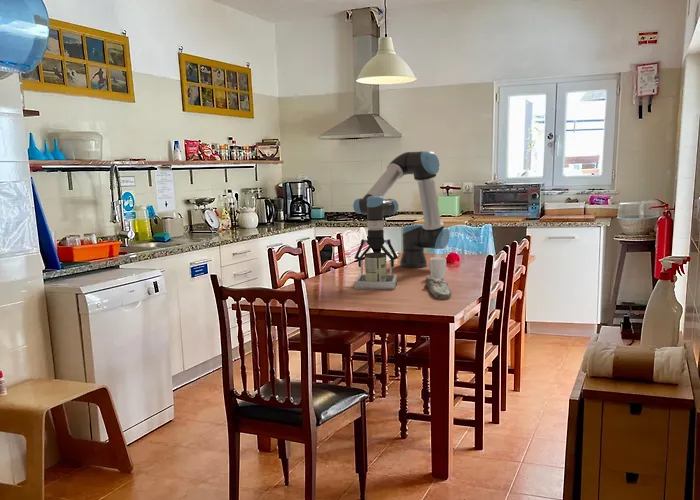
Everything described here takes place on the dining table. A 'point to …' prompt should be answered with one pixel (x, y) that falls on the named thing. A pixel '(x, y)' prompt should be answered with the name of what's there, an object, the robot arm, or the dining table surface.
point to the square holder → (376, 283)
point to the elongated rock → (438, 288)
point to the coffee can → (375, 267)
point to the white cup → (437, 267)
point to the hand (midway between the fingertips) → (376, 273)
